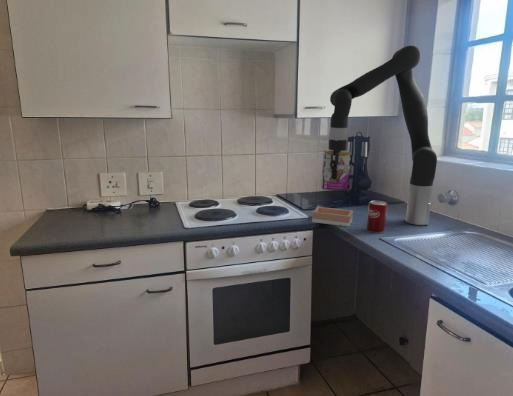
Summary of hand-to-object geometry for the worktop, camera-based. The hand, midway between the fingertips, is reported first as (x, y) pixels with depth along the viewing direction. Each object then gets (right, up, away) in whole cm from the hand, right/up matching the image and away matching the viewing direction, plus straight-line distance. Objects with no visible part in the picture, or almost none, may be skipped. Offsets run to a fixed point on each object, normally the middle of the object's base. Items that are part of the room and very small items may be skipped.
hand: (335, 177), depth 165 cm
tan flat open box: (0, -19, +5) cm, 20 cm away
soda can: (+15, -23, -7) cm, 28 cm away
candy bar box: (0, -5, +1) cm, 5 cm away
